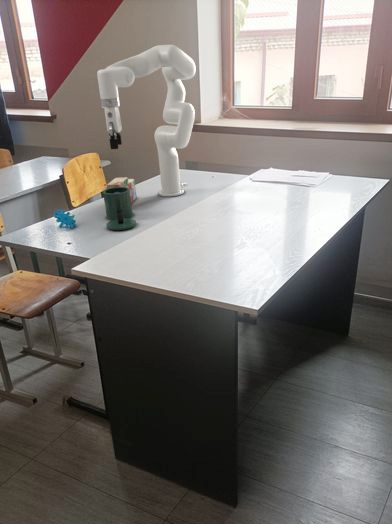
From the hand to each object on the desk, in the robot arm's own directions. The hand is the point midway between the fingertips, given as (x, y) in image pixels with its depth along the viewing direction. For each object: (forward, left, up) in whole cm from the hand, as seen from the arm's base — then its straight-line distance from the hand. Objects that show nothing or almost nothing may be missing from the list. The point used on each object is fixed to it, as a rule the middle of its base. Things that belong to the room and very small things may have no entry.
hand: (116, 146), depth 218 cm
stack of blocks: (-7, -10, -28) cm, 31 cm away
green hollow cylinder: (+6, +4, -28) cm, 29 cm away
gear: (+29, -3, -28) cm, 41 cm away
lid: (+14, +16, -28) cm, 35 cm away
